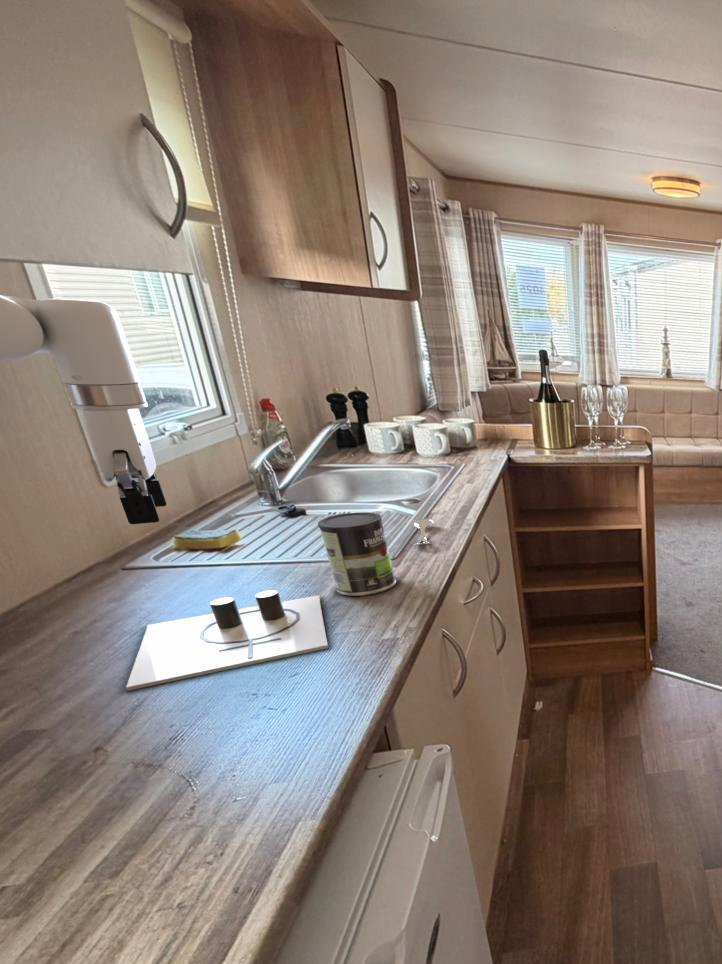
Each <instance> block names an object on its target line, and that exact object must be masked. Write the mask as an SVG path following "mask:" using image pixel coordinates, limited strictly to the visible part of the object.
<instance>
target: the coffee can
mask: <svg viewBox="0 0 722 964" xmlns="http://www.w3.org/2000/svg"><path fill="white" fill-rule="evenodd" d="M317 526H318V528H319V530H320V533H321V537H322V541H323V544H324V549H325V552H326V555H327V559H328V563H329V566H330V570H331V574H332V577H333V581H334V584H335V588H336V593H338V594H339V595H342V596H347V597H358V596H359V597H360V596H368V595H374V594H378V593H382V592H385V591H387V590H390V589H391V588H393V587H394V586H396V584H397V579H396V576H395V573H394V567H393V563H392V560H391V559H392V558H391V555H390V551H389V548H388V542H387V538H386V534H385V529H384V525H383V518H382V515H380V514H379V513H375V512H368V511H367V512H366V511H365V512H363V511H362V512H360V511H359V512H358V511H357V512H348V513H340V514H334V515H330V516H328V517H324V518H322V519H320V520H319V521H318V522H317Z"/></svg>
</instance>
